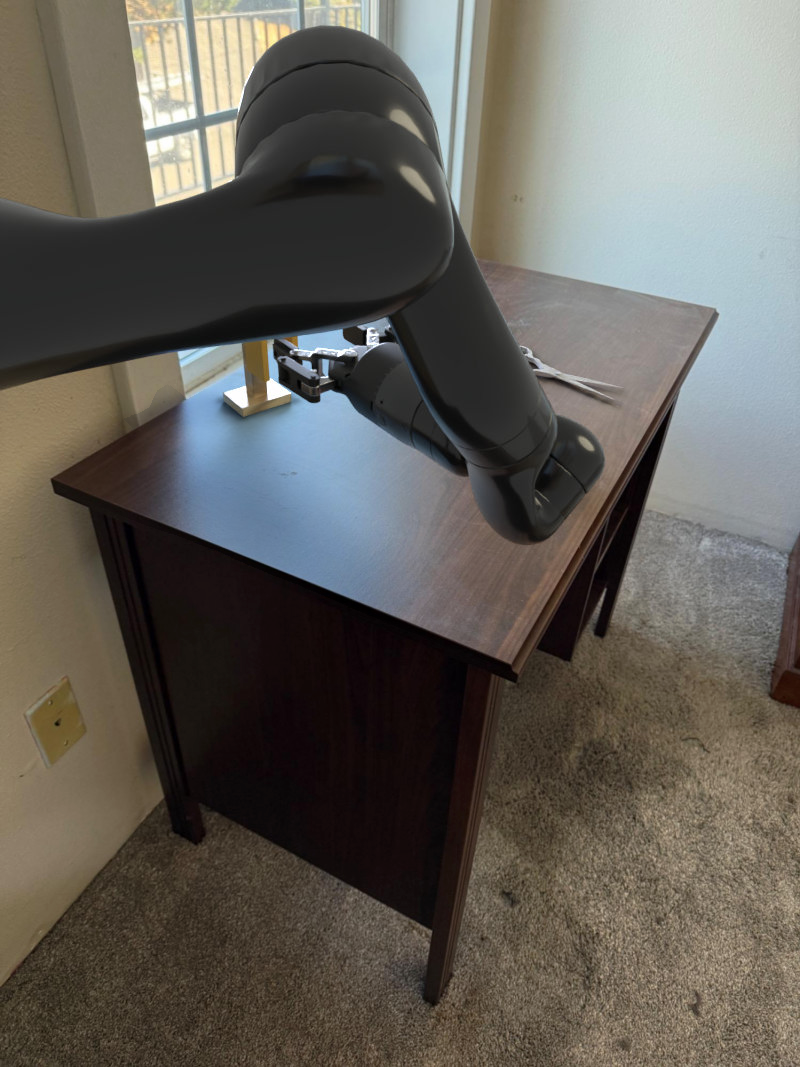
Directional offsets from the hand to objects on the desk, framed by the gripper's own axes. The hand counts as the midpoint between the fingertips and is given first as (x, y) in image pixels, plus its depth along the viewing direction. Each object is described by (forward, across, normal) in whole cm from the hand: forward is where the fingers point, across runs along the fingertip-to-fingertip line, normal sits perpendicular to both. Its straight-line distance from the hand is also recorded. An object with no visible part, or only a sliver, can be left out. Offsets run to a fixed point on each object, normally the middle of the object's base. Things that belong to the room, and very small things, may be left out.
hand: (311, 336), depth 78 cm
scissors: (-4, -37, +14) cm, 39 cm away
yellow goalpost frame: (+9, 0, +8) cm, 12 cm away
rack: (+11, 0, +14) cm, 17 cm away
